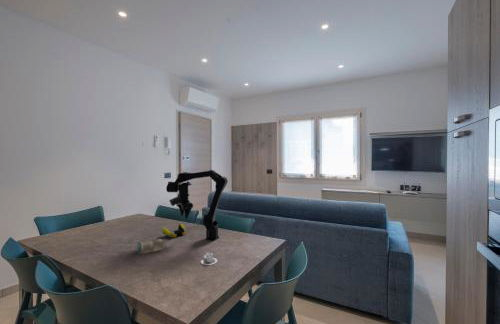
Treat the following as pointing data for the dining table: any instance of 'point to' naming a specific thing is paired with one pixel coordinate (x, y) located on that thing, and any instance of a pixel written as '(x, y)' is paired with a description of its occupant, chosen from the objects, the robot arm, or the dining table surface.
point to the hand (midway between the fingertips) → (184, 216)
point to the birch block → (149, 246)
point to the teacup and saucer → (208, 258)
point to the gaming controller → (175, 233)
